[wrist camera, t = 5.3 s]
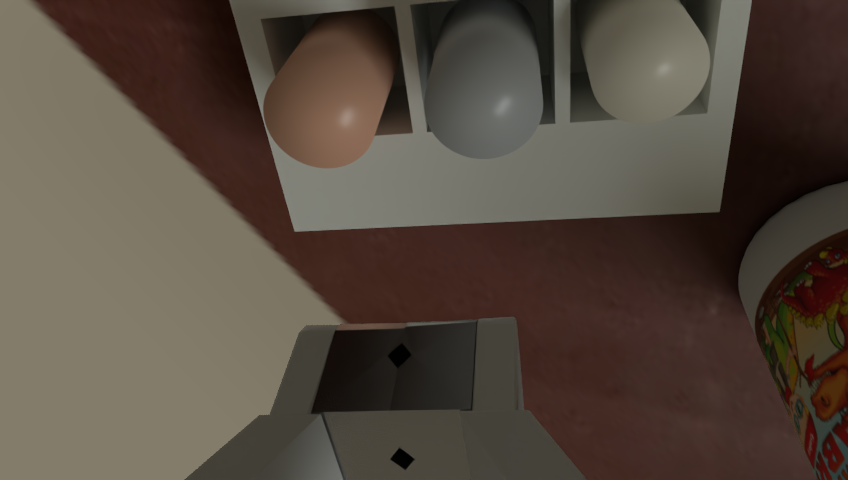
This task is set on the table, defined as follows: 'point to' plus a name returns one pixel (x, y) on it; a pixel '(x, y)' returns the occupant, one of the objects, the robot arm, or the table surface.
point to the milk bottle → (805, 318)
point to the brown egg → (333, 89)
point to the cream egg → (642, 57)
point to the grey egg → (485, 79)
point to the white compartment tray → (528, 165)
